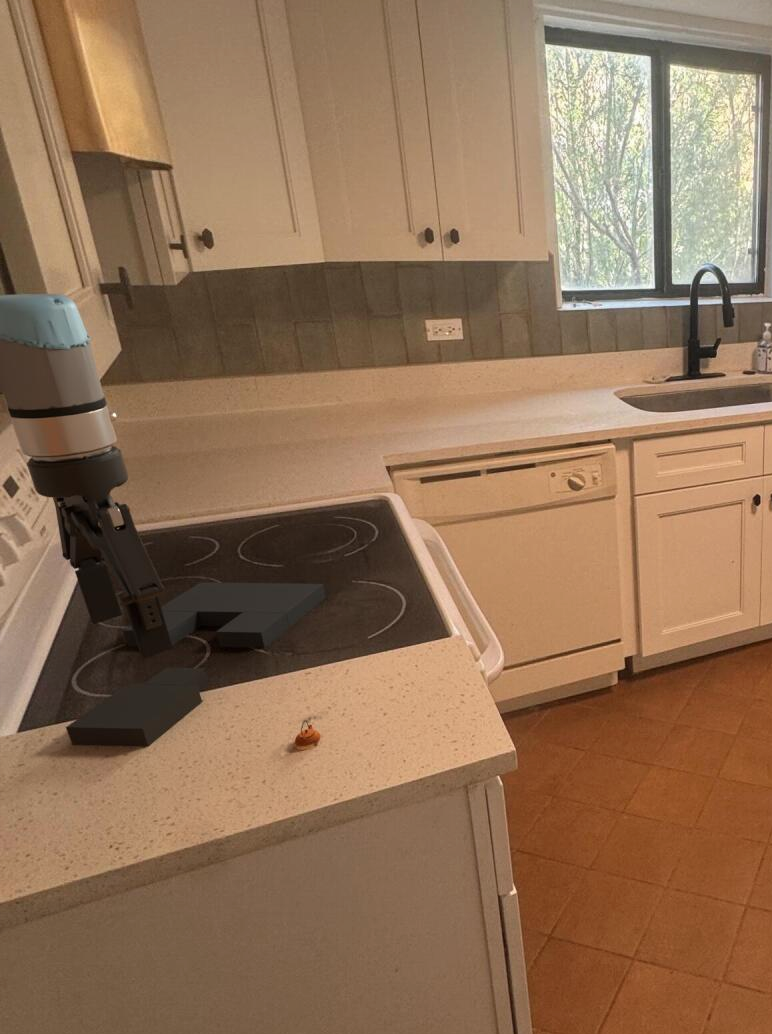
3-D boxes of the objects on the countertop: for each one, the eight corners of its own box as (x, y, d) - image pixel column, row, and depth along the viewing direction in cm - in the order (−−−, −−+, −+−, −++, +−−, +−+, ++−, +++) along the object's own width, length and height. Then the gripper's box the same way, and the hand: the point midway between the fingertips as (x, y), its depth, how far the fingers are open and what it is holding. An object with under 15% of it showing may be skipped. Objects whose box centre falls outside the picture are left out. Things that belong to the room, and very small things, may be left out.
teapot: (289, 746, 92) (284, 727, 91) (311, 732, 95) (307, 713, 94) (306, 752, 91) (301, 733, 90) (328, 737, 94) (324, 719, 93)
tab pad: (76, 756, 90) (65, 727, 89) (159, 693, 103) (151, 667, 101) (151, 757, 90) (142, 728, 89) (226, 694, 102) (219, 668, 101)
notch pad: (130, 655, 112) (122, 630, 110) (206, 604, 127) (200, 582, 125) (267, 657, 111) (260, 632, 110) (327, 606, 126) (322, 583, 125)
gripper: (168, 462, 76) (220, 652, 84) (73, 427, 89) (125, 594, 97) (73, 481, 70) (138, 684, 78) (-14, 441, 83) (49, 618, 91)
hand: (131, 635), depth 87 cm, fingers open, 13 cm apart
